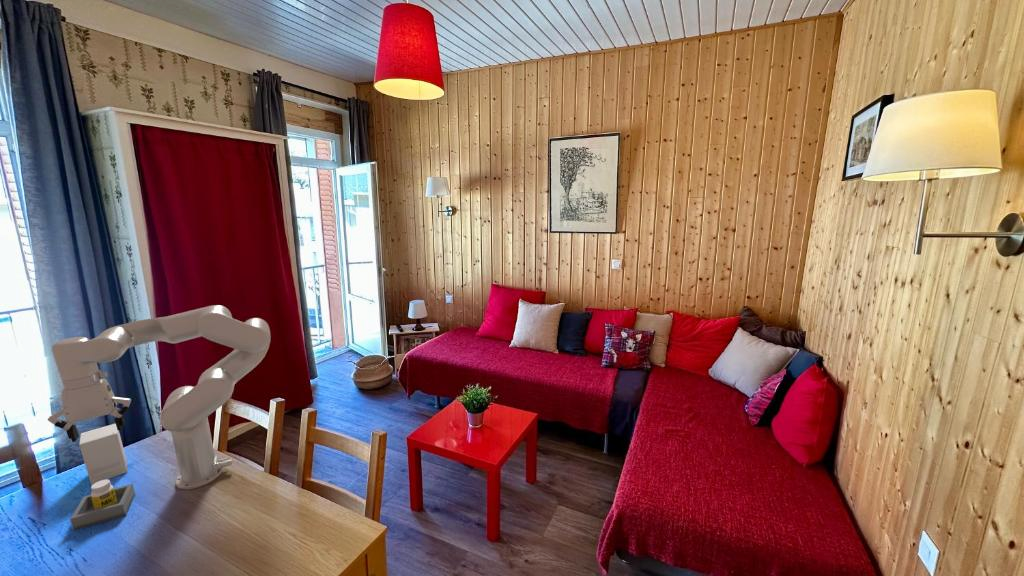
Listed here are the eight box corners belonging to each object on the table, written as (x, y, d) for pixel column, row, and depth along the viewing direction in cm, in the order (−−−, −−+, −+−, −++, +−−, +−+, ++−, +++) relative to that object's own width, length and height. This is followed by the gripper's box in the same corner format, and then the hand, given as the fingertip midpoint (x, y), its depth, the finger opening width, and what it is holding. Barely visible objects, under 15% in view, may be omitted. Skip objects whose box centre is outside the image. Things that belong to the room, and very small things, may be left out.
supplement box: (127, 460, 145) (117, 422, 142) (128, 472, 139) (118, 433, 135) (91, 472, 139) (80, 432, 136) (90, 485, 133) (78, 444, 129)
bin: (135, 494, 129) (132, 483, 128) (125, 515, 120) (122, 504, 119) (87, 507, 123) (84, 496, 123) (73, 531, 115) (70, 519, 114)
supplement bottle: (103, 515, 119) (97, 490, 117) (91, 513, 120) (84, 488, 118) (122, 503, 124) (115, 479, 122) (109, 501, 125) (103, 477, 123)
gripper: (125, 368, 124) (139, 418, 128) (43, 383, 115) (61, 437, 119) (120, 377, 118) (134, 430, 122) (32, 394, 109) (52, 451, 113)
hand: (98, 433), depth 121 cm, fingers open, 9 cm apart
